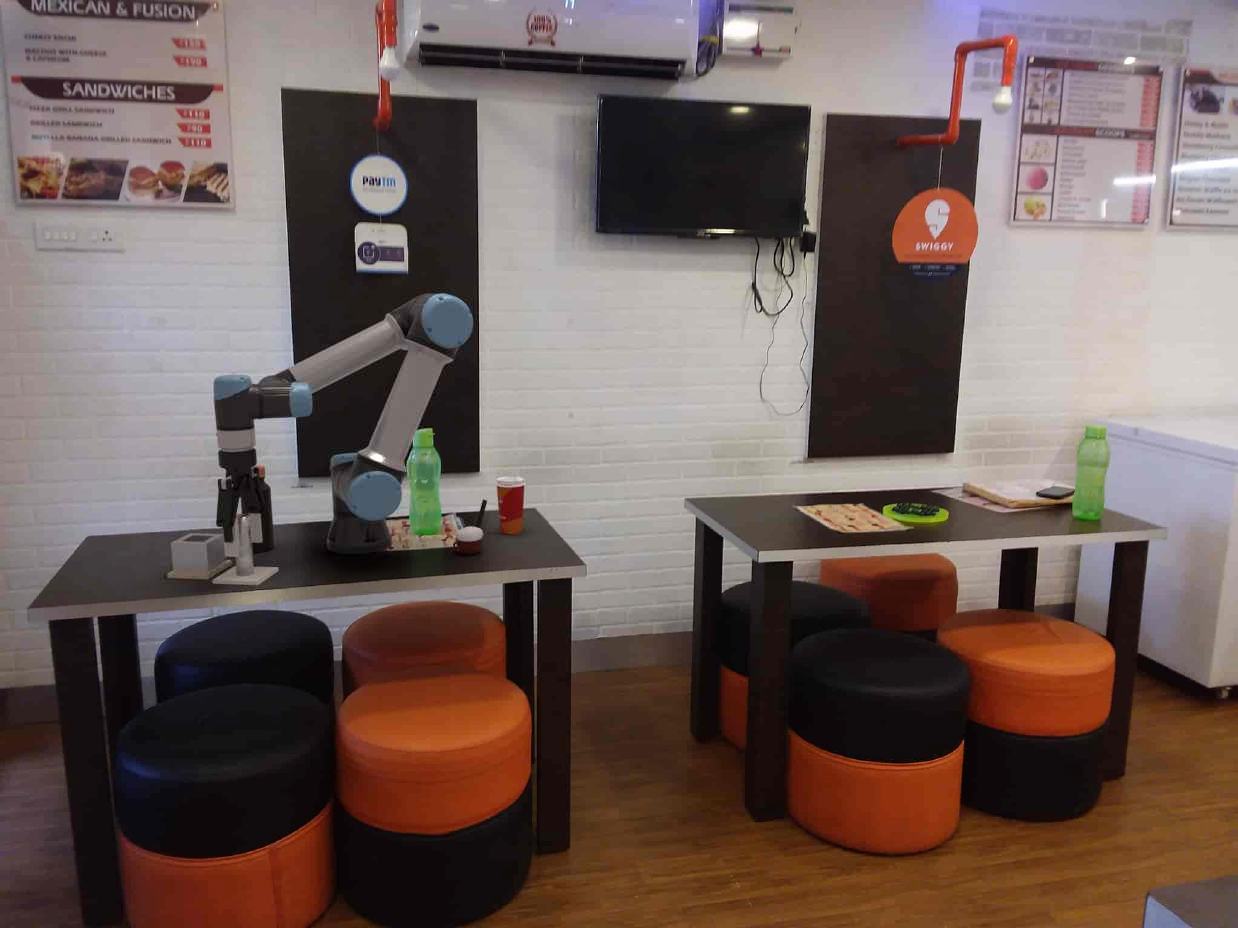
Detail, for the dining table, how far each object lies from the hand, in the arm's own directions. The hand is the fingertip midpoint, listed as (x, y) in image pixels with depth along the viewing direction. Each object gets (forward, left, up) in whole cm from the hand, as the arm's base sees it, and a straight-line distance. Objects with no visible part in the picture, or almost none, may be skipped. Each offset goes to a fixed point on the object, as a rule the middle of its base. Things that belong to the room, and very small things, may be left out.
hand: (244, 548), depth 204 cm
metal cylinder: (0, 0, -6) cm, 6 cm away
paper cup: (-50, -43, -7) cm, 66 cm away
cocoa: (-44, -24, -7) cm, 51 cm away
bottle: (+7, -21, -7) cm, 23 cm away
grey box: (+12, -5, -6) cm, 15 cm away
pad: (0, 0, -6) cm, 6 cm away
